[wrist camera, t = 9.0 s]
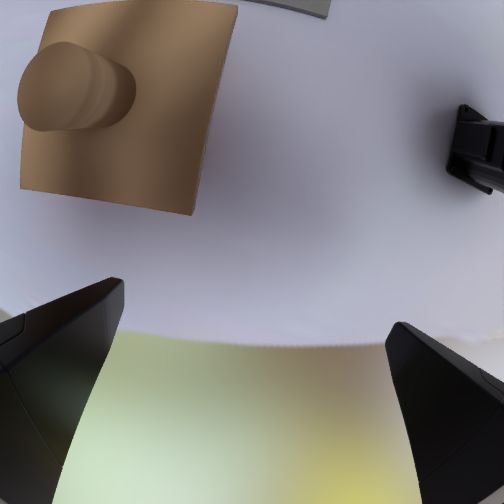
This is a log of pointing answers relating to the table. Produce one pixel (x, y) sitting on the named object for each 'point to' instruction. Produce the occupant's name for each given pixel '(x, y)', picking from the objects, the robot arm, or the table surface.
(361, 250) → the table surface
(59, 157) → the lid
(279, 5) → the mat
